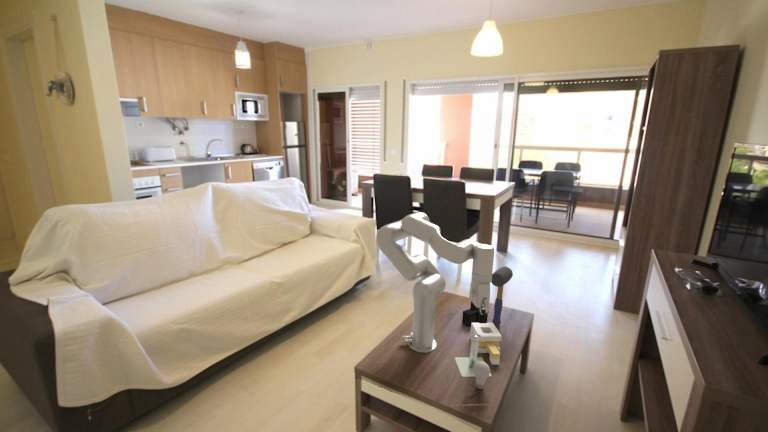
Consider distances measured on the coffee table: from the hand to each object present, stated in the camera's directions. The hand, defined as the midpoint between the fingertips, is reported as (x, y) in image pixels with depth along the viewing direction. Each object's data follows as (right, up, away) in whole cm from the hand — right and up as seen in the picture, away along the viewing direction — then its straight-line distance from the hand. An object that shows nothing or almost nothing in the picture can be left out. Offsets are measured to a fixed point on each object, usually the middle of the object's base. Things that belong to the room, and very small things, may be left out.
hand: (478, 316), depth 140 cm
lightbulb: (-1, -25, -7) cm, 26 cm away
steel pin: (-1, -22, +5) cm, 22 cm away
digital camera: (+8, -15, +39) cm, 42 cm away
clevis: (+8, -20, +16) cm, 27 cm away
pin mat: (-1, -22, +5) cm, 23 cm away
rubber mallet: (+19, -15, +37) cm, 45 cm away
